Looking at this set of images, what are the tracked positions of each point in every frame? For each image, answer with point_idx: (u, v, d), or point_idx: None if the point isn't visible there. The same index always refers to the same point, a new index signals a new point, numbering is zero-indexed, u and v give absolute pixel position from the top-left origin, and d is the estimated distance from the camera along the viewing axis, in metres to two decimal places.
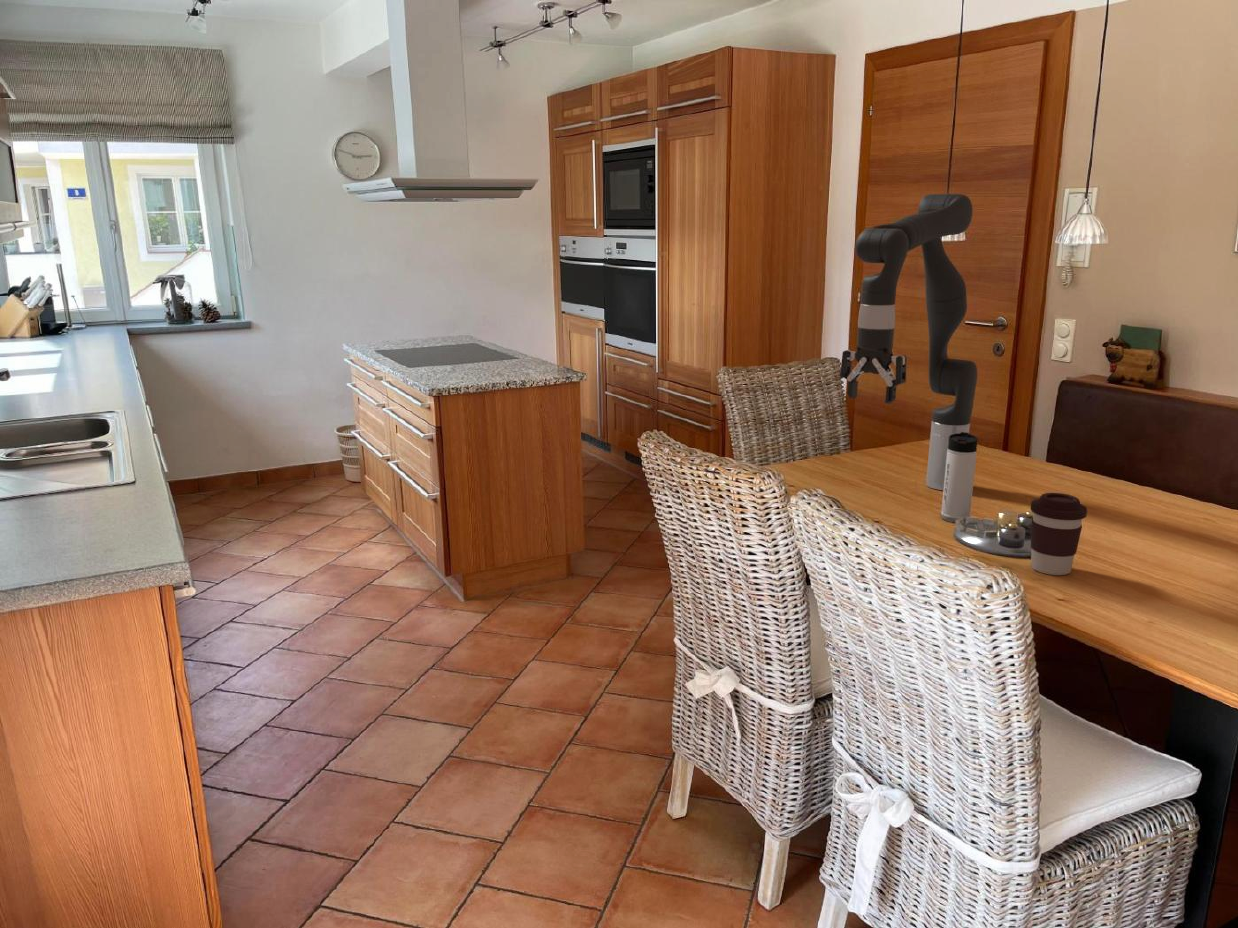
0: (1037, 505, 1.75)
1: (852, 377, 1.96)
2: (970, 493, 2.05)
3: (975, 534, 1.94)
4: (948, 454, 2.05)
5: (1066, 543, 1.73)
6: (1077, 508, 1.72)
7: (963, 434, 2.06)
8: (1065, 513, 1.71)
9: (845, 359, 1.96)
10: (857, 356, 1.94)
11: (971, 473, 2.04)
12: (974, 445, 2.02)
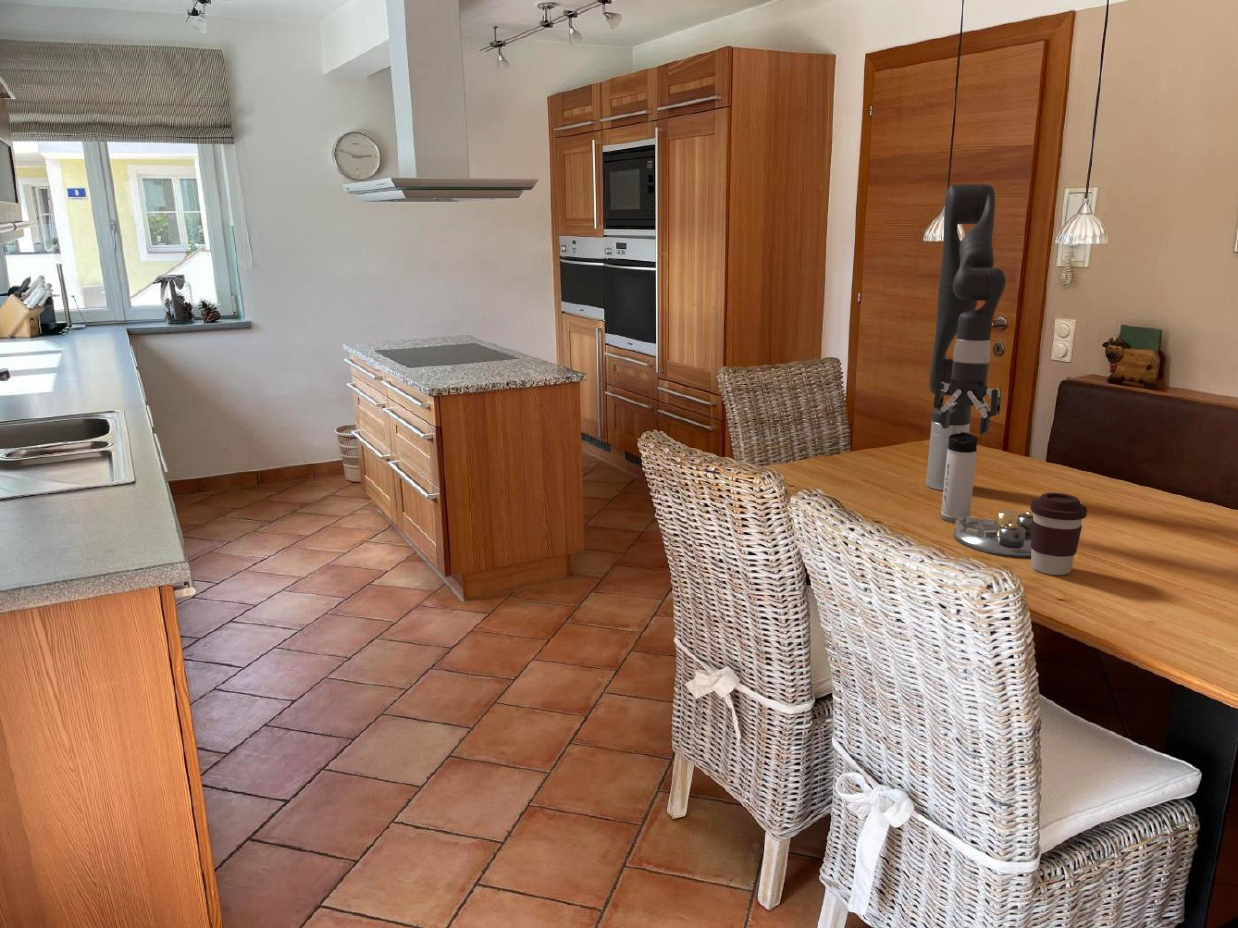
0: (1037, 505, 1.75)
1: (946, 408, 2.05)
2: (970, 493, 2.05)
3: (975, 534, 1.94)
4: (948, 454, 2.05)
5: (1066, 543, 1.73)
6: (1077, 508, 1.72)
7: (963, 434, 2.06)
8: (1065, 513, 1.71)
9: (939, 391, 2.05)
10: (951, 388, 2.03)
11: (971, 473, 2.04)
12: (974, 445, 2.02)
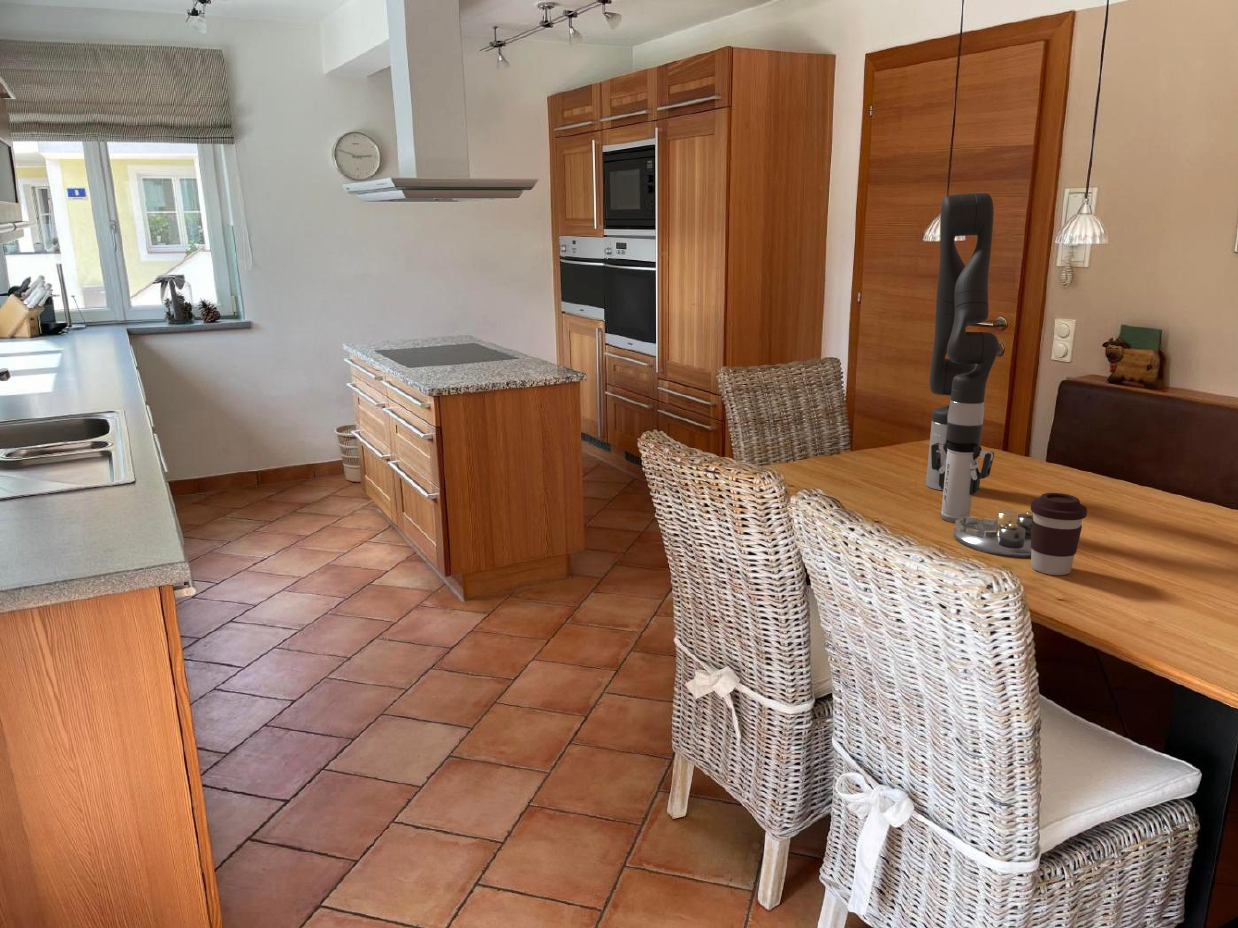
0: (1037, 505, 1.75)
1: (944, 470, 2.08)
2: None
3: (975, 534, 1.94)
4: (948, 454, 2.05)
5: (1066, 543, 1.73)
6: (1077, 508, 1.72)
7: None
8: (1065, 513, 1.71)
9: (934, 452, 2.08)
10: (946, 448, 2.06)
11: None
12: None
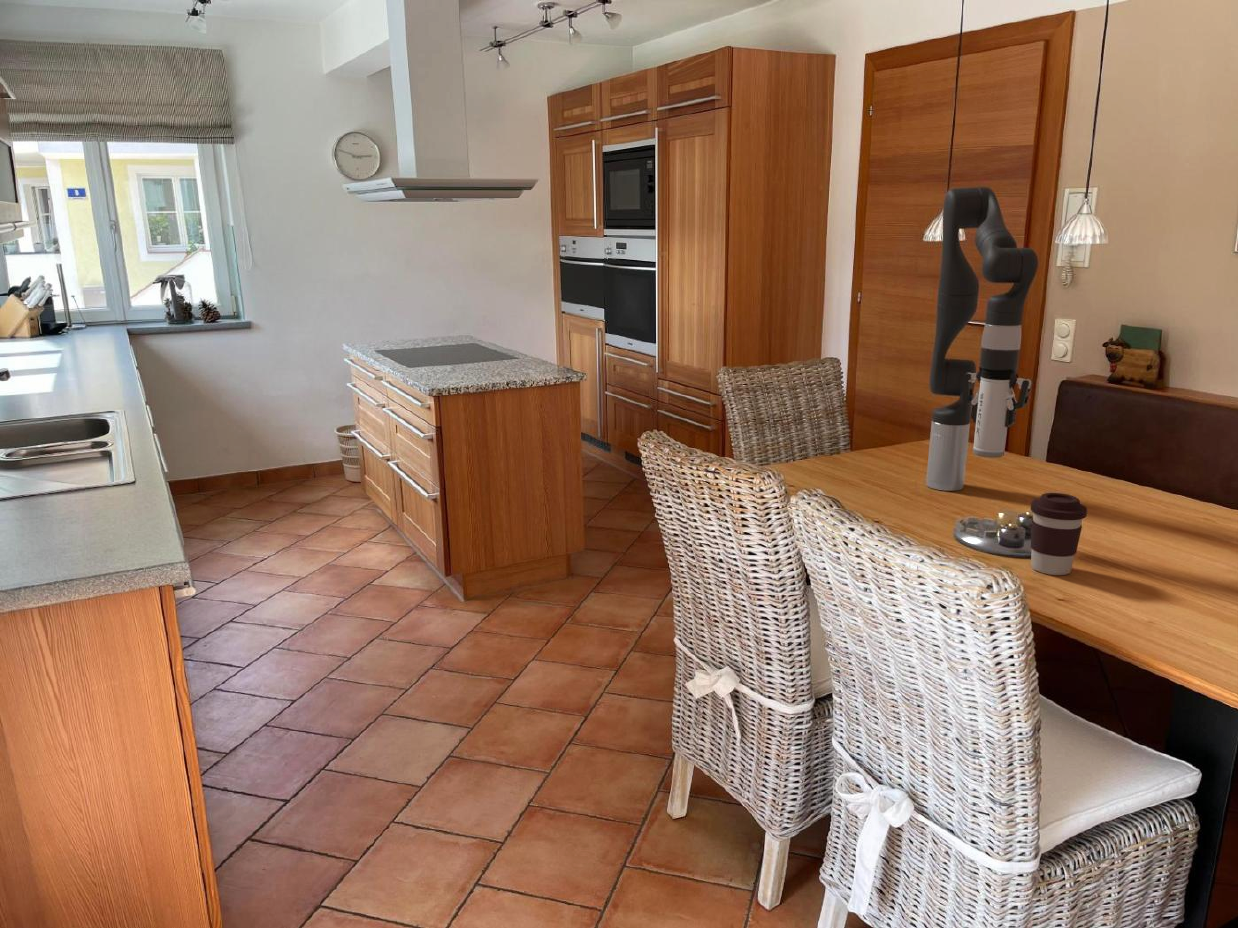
0: (1037, 505, 1.75)
1: (977, 401, 1.92)
2: None
3: (975, 534, 1.94)
4: (982, 383, 1.90)
5: (1066, 543, 1.73)
6: (1077, 508, 1.72)
7: None
8: (1065, 513, 1.71)
9: (967, 382, 1.93)
10: (979, 377, 1.91)
11: None
12: (1010, 372, 1.87)
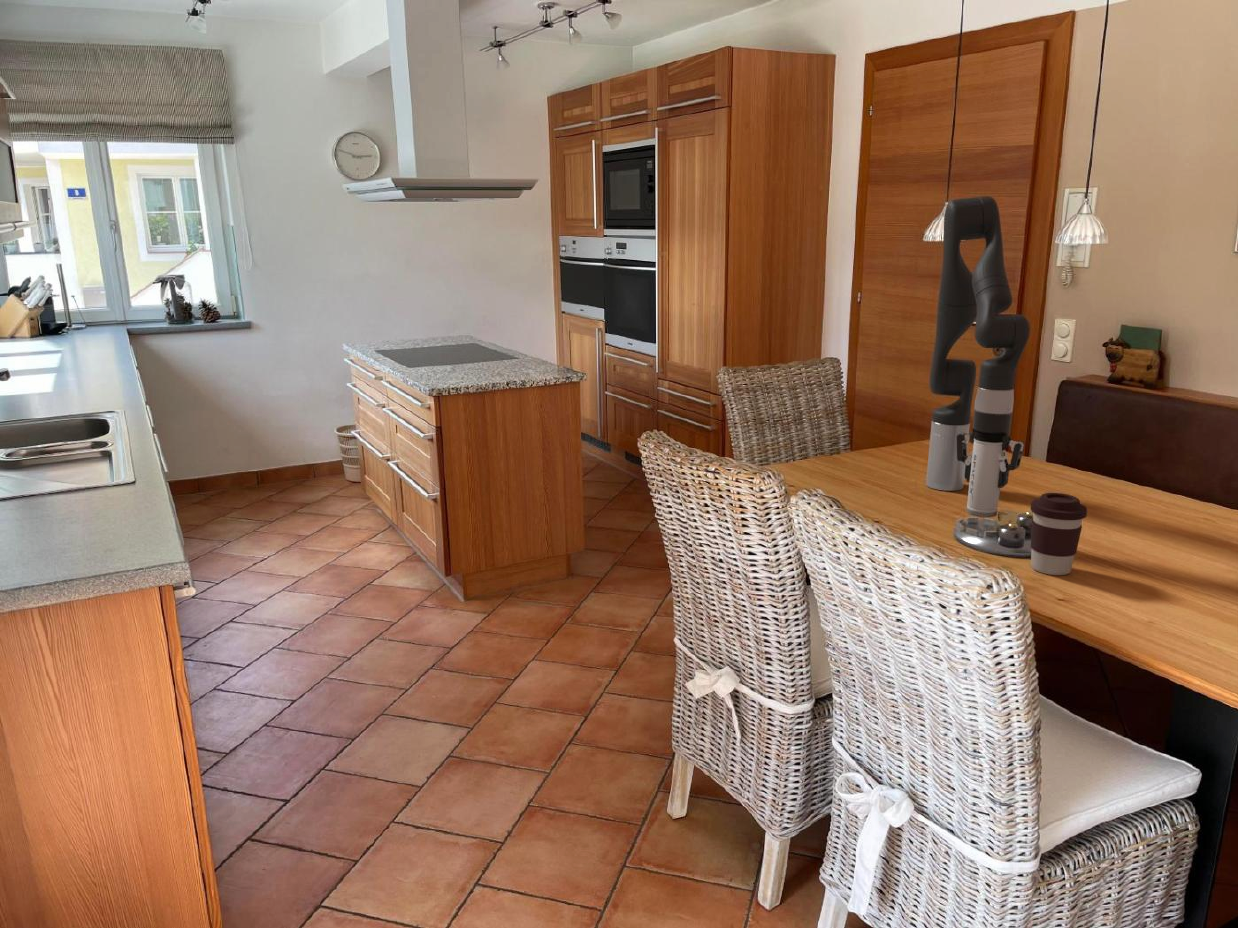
0: (1037, 505, 1.75)
1: (970, 461, 1.96)
2: None
3: (975, 534, 1.94)
4: (975, 444, 1.93)
5: (1066, 543, 1.73)
6: (1077, 508, 1.72)
7: None
8: (1065, 513, 1.71)
9: (960, 442, 1.97)
10: (973, 438, 1.95)
11: None
12: None
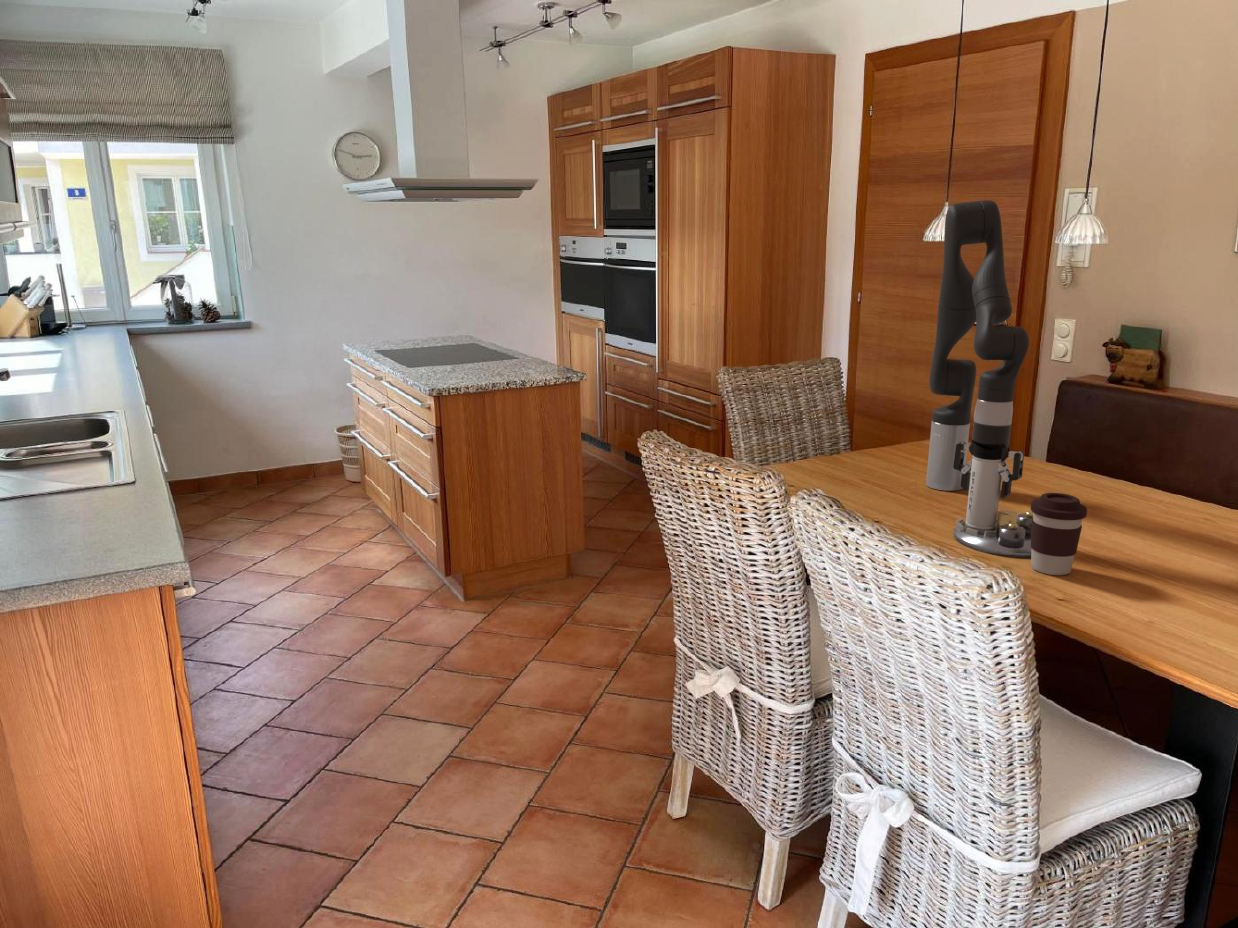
0: (1037, 505, 1.75)
1: (966, 470, 1.97)
2: (996, 502, 1.94)
3: (975, 534, 1.94)
4: (973, 461, 1.94)
5: (1066, 543, 1.73)
6: (1077, 508, 1.72)
7: None
8: (1065, 513, 1.71)
9: (959, 452, 1.97)
10: (972, 449, 1.95)
11: (998, 481, 1.93)
12: (1001, 452, 1.91)
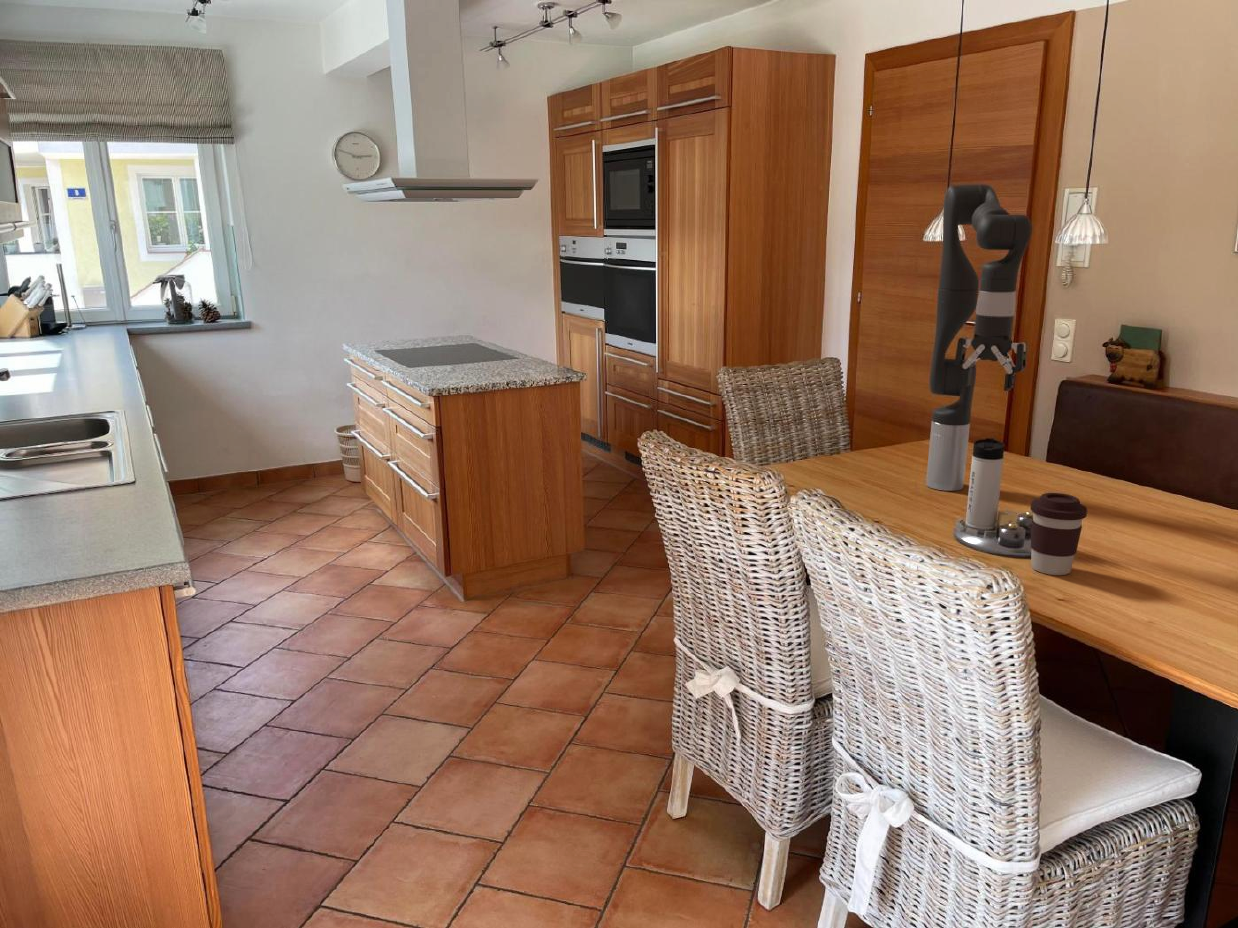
0: (1037, 505, 1.75)
1: (968, 364, 1.95)
2: (996, 502, 1.94)
3: (975, 534, 1.94)
4: (973, 461, 1.94)
5: (1066, 543, 1.73)
6: (1077, 508, 1.72)
7: (989, 440, 1.96)
8: (1065, 513, 1.71)
9: (961, 346, 1.95)
10: (974, 343, 1.93)
11: (998, 481, 1.93)
12: (1001, 452, 1.91)
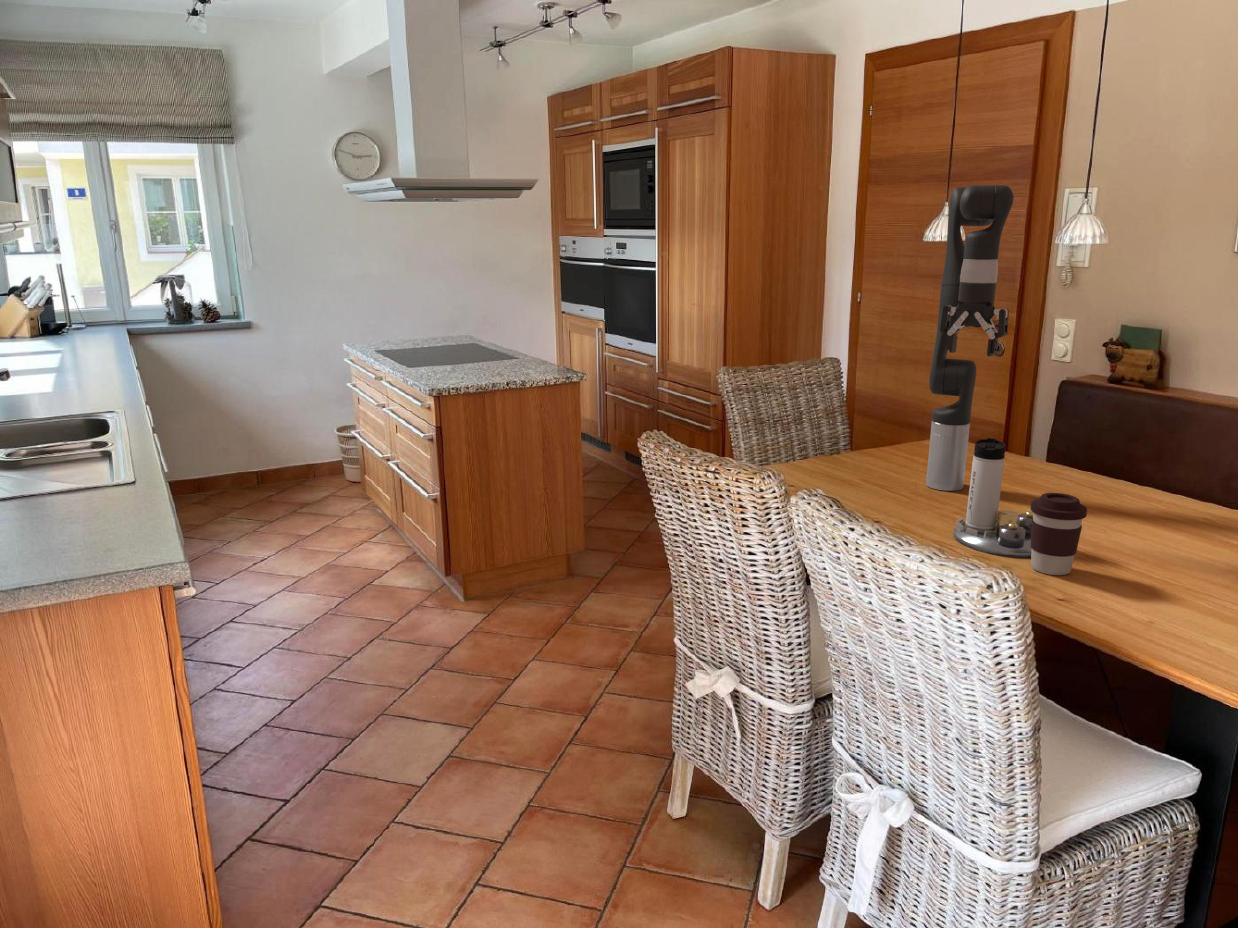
0: (1037, 505, 1.75)
1: (952, 331, 2.02)
2: (997, 502, 1.94)
3: (975, 534, 1.94)
4: (974, 461, 1.94)
5: (1066, 543, 1.73)
6: (1077, 508, 1.72)
7: (990, 440, 1.96)
8: (1065, 513, 1.71)
9: (946, 314, 2.02)
10: (958, 311, 2.01)
11: (999, 481, 1.93)
12: (1002, 452, 1.91)
